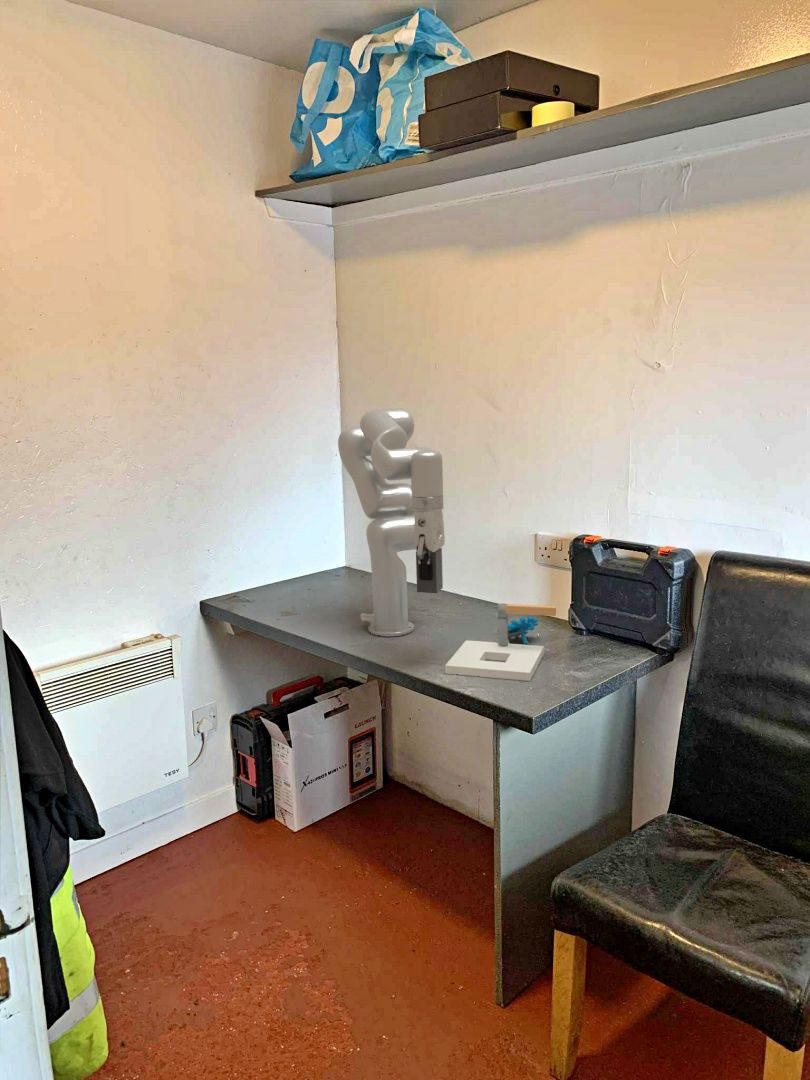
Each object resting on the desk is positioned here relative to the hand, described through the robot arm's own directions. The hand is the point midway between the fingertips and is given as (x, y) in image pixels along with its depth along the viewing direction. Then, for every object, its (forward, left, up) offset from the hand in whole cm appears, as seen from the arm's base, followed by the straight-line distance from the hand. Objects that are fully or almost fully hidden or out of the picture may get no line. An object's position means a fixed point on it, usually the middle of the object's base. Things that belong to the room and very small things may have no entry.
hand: (429, 576), depth 199 cm
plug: (0, 0, -3) cm, 3 cm away
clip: (+22, +9, -12) cm, 26 cm away
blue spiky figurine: (+18, +19, -22) cm, 34 cm away
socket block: (+16, +1, -21) cm, 27 cm away
